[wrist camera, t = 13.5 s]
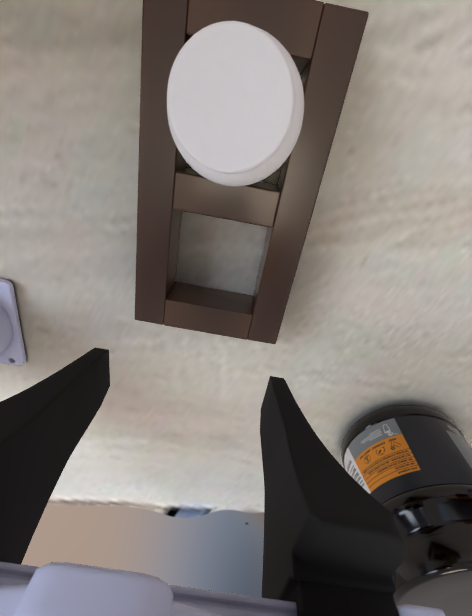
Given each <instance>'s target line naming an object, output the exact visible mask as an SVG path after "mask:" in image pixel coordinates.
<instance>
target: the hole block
mask: <svg viewBox="0 0 472 616" xmlns="http://www.w3.org/2000/svg"><path fill="white" fill-rule="evenodd" d="M367 19H368V12H365V11H361V10H356V9H352V8H347V7H342V6H338V5H333V4H329V3H325V4H324V3H323V2H320V1H316V0H143V16H142V55H141V95H140V134H139V174H138V213H137V253H136V292H135V320H139V321H145V322H151V323H156V324H164V325H166V326H172V327H178V328H183V329H189V330H195V331H201V332H206V333H212V334H218V335H223V336H229V337H235V338H241V339H248V340H254V341H259V342H265V343H271V344H275V343H276V340H277V337H278V333H279V330H280V326H281V323H282V319H283V316H284V312H285V309H286V305H287V301H288V298H289V294H290V291H291V287H292V284H293V280H294V277H295V273H296V270H297V266H298V263H299V259H300V255H301V252H302V248H303V245H304V241H305V238H306V234H307V231H308V227H309V224H310V220H311V217H312V213H313V210H314V206H315V202H316V199H317V195H318V192H319V188H320V185H321V181H322V178H323V174H324V171H325V167H326V164H327V160H328V157H329V153H330V149H331V146H332V142H333V139H334V135H335V132H336V128H337V125H338V121H339V118H340V114H341V111H342V107H343V104H344V100H345V96H346V93H347V89H348V86H349V82H350V79H351V75H352V72H353V68H354V65H355V61H356V58H357V54H358V50H359V47H360V43H361V40H362V36H363V33H364V29H365V26H366V22H367ZM223 21H239V22H244V23H247V24H250V25H252V26H255V27H258V28H260V29H262V30H264V31H266V32H268V33H269V34H270V35H272V36H273V37H274V38H276V39H277V40H278V41H279V42H280V43H281V44H282V45H283V46H284V48H285V49H286V50H287V51H288V53H289V54H290V55H291V57H292V59H293V61H294V63H295V65H296V67H297V69H298V72H303V73H302V77H301V81H302V86H303V92H304V115H303V122H302V127H301V131H300V134H299V137H298V140H297V142H296V144H295V146H294V148H293V150H292V152H291V154H290V155H289V156H288V158H287V159H286V161H285V162H284V163H283V164H282V167H281V172H280V176H279V181H278V185H277V186H276V185H272V184H267V183H262V182H256V183H253V184H250V185H245V186H226V185H221V184H218V183H215V182H212V181H210V180H208V179H206V178H205V177H203V176H202V175H200V174H199V173H197V172H196V171H195V170H194V169H190V168H186V161H185V159H184V158H183V156H182V155H181V153H180V152H179V150H178V148H177V146H176V144H175V142H174V140H173V137H172V134H171V131H170V127H169V123H168V115H167V88H168V80H169V76H170V72H171V69H172V66H173V63H174V61H175V59H176V57H177V55H178V53H179V52H180V50H181V49H182V47H183V46H184V44H185V43H186V42H187V41H188V40H189V39H190V38H191V37H192V36H193V35H194V34H195V33H197V32H198V31H200V30H201V29H203V28H204V27H207V26H209V25H211V24H214V23H217V22H223ZM182 211H186V212H192V213H197V214H202V215H208V216H213V217H218V218H223V219H229V220H234V221H239V222H245V223H250V224H255V225H261V226H266V227H268V230H267V235H266V239H265V244H264V248H263V253H262V257H261V262H260V266H259V271H258V275H257V280H256V284H255V289H254V293H253V296H251V295H246V294H240V293H235V292H229V291H223V290H218V289H212V288H207V287H201V286H196V285H190V284H185V283H179V282H175V280H176V269H177V258H178V247H179V236H180V225H181V214H182Z"/></svg>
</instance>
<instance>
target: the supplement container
mask: <svg viewBox="0 0 472 616" xmlns="http://www.w3.org/2000/svg"><path fill="white" fill-rule="evenodd" d="M341 457H342V462H343V465H344V468H345V470H346V471H347V472H348V474H349V475H350V476H351V477H352V478H353V479H354V480H355V481H356V482H357V483H359V484H360V485H361V486H362V487H363V488H364V489H365V490H366V491H367V492H368V493H369V494H370V495H371V496H373V497H374V498H375V499H376V500H377V501H379V502H380V503H381V504H382V505H383V506H384V507H386V508H387V509H388V510H389V511H390V512H391V513H393V515H394V518H395V520H396V522H397V524H398V526H399V528H400V531H401V533H402V536H403V538H404V541H405V544H406V546H407V555H406V557H405V559H404V561H403V563H402V564H401V565H400V566H399V567H398V569H397V570H396V571H395V572H394V573H393V575H392V579H393V582H394V585H395V593H394V594H393V593H392V594H393V597H394V601H395V604H396V607H397V606H399V605H404V604H408V605H417V606H424V607H431V608H438V609H441V610H442V611H444V613H445V616H472V448H471V447H470V445H469V444H468V443H467V441H466V440H465V438H464V437H463V434H462V433H461V431H460V430H459V428H458V427H457V426H456V425H455V424H454V422H453V421H451V420H450V419H449V418H448V417H446V416H445V415H443V414H442V413H440V412H438V411H436V410H433V409H430V408H426V407H422V406H415V405H401V406H392V407H388V408H384V409H380V410H378V411H375V412H373V413H371V414H369V415H367V416H365V417H363V418H362V419H360V420H359V421H358V422H357V423H355V424H354V425H353V426H352V427H351V429H350V430H349V431H348V433H347V434H346V436H345V438H344V440H343V443H342V448H341Z"/></svg>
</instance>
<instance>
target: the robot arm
mask: <svg viewBox="0 0 472 616" xmlns="http://www.w3.org/2000/svg"><path fill="white" fill-rule="evenodd" d="M0 363H6V364H11V365H17V366H22V365H24V364H25V363H26V355H25V350H24V344H23V338H22V333H21V327H20V321H19V316H18V310H17V304H16V299H15V293H14V287H13V284H12V283H11V282H10V281H8V280H5V279H0ZM109 386H110V372H109V350H106V349H100V348H94V349H92V350H90V351H89V352H87V353H86V354H84V355H83V356H81V357H80V358H78V359H77V360H75V361H74V362H72V363H71V364H69V365H67V366H66V367H64V368H63V369H61V370H59V371H58V372H56V373H55V374H53V375H51V376H49V377H48V378H46V379H44V380H43V381H41V382H39V383H37V384H36V385H34V386H32V387H30V388H28V389H26V390H24V391H22V392H20V393H18V394H16V395H14V396H12V397H10V398H8V399H6V400H4V401H1V402H0V616H445V613H444V611H442V610H441V609H438V608H431V607H424V606H417V605H408V604H404V605H399V606H397V607H396V604H395V601H394V597H393V594H394V593H395V585H394V582H393V579H392V575H393V573H394V572H395V571H396V570H397V569H398V567H399V566H400V565H401V564H402V563H403V561H404V559H405V557H406V555H407V546H406V544H405V541H404V538H403V536H402V533H401V531H400V528H399V526H398V524H397V522H396V520H395V518H394V515H393V513H391V512H390V511H389V510H388V509H387V508H386V507H384V506H383V505H382V504H381V503H380V502H379V501H377V500H376V499H375V498H374V497H373V496H371V495H370V494H369V493H368V492H367V491H366V490H365V489H364V488H363V487H362V486H361V485H360V484H359V483H357V482H356V481H355V480H354V479H353V478H352V477H351V476H350V475H349V474H348V472H347V471H346V470H345V469H344V468H343V467H342V466H341V465H340V464H339V463H338V462H337V461H336V459H335V458H334V457H333V456H332V455H331V454H330V452H329V451H328V450H327V449H326V447H325V446H324V445H323V443H322V442H321V441H320V439H319V438H318V437H317V435H316V434H315V432H314V431H313V429H312V428H311V426H310V425H309V423H308V422H307V420H306V418H305V417H304V415H303V413H302V412H301V410H300V408H299V406H298V405H297V403H296V401H295V399H294V397H293V395H292V393H291V391H290V389H289V387H288V385H287V383H286V381H285V380H284V378H278V377H272V376H270V379H269V382H268V386H267V389H266V393H265V396H264V400H263V404H262V407H261V419H260V435H261V448H262V460H263V471H264V486H265V514H264V515H265V516H264V517H265V518H264V554H263V580H262V598H260V597H253V596H246V595H238V594H231V593H223V592H216V591H210V590H202V589H195V588H188V587H180V586H173V585H168V583H166V582H164V581H163V580H161V579H160V578H158V577H155V576H152V575H148V574H144V573H139V572H132V571H124V570H117V569H110V568H103V567H95V566H88V565H81V564H73V563H67V562H66V563H65V562H64V563H62V562H61V563H59V562H58V563H57V562H54V563H53V562H51V563H49V564H46V565H44V566H42V567H35V566H28V565H21V563H22V560H23V558H24V556H25V553H26V551H27V548H28V546H29V543H30V541H31V539H32V536H33V534H34V532H35V529H36V527H37V525H38V523H39V520H40V518H41V516H42V514H43V511H44V509H45V507H46V505H47V503H48V500H49V498H50V496H51V494H52V492H53V490H54V487H55V485H56V483H57V481H58V479H59V477H60V475H61V473H62V471H63V469H64V467H65V465H66V463H67V461H68V459H69V457H70V456H71V454H72V452H73V450H74V449H75V447H76V445H77V444H78V442H79V441H80V439H81V437H82V436H83V434H84V433H85V431H86V429H87V428H88V426H89V424H90V423H91V421H92V420H93V418H94V416H95V415H96V413H97V411H98V410H99V408H100V406H101V404H102V402H103V400H104V398H105V396H106V393H107V391H108V389H109ZM392 593H393V594H392Z"/></svg>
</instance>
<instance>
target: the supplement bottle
mask: <svg viewBox="0 0 472 616" xmlns="http://www.w3.org/2000/svg"><path fill="white" fill-rule="evenodd" d="M167 115H168V123H169V127H170V131H171V134H172V137H173V140H174V142H175V144H176V146H177V148H178V150H179V152H180V153H181V155H182V156H183V158H184V159H185V161H186V162H187V163H188V164H189V165H190V166H191V167H192V168H193V169H194V170H195V171H196V172H197V173H199V174H200V175H202V176H203V177H205V178H206V179H208V180H210V181H212V182H215V183H218V184H221V185H226V186H245V185H250V184H253V183H256V182H259V181H261V180H263V179H265V178H267V177H268V176H270V175H271V174H272V173H274V172H275V171H276V170H277V169H278V168H279V167H280V166H281V165H282V164H283V163H284V162H285V161H286V159H287V158H288V156H289V155H290V154H291V152H292V150H293V148H294V146H295V144H296V142H297V140H298V137H299V134H300V131H301V127H302V122H303V115H304V92H303V86H302V81H301V78H300V75H299V72H298V69H297V67H296V65H295V63H294V61H293V59H292V57H291V55H290V54H289V53H288V51H287V50H286V49H285V48H284V46H283V45H282V44H281V43H280V42H279V41H278V40H277V39H276V38H274V37H273V36H272V35H270V34H269V33H268V32H266V31H264V30H262V29H260V28H258V27H255V26H252V25H250V24H247V23H244V22H239V21H223V22H217V23H214V24H211V25H209V26H207V27H204V28H203V29H201V30H200V31H198V32H197V33H195V34H194V35H193V36H192V37H191V38H190V39H189V40H188V41H187V42H186V43H185V44H184V46H183V47H182V49H181V50H180V52H179V53H178V55H177V57H176V59H175V61H174V63H173V66H172V69H171V72H170V76H169V80H168V88H167Z"/></svg>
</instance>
